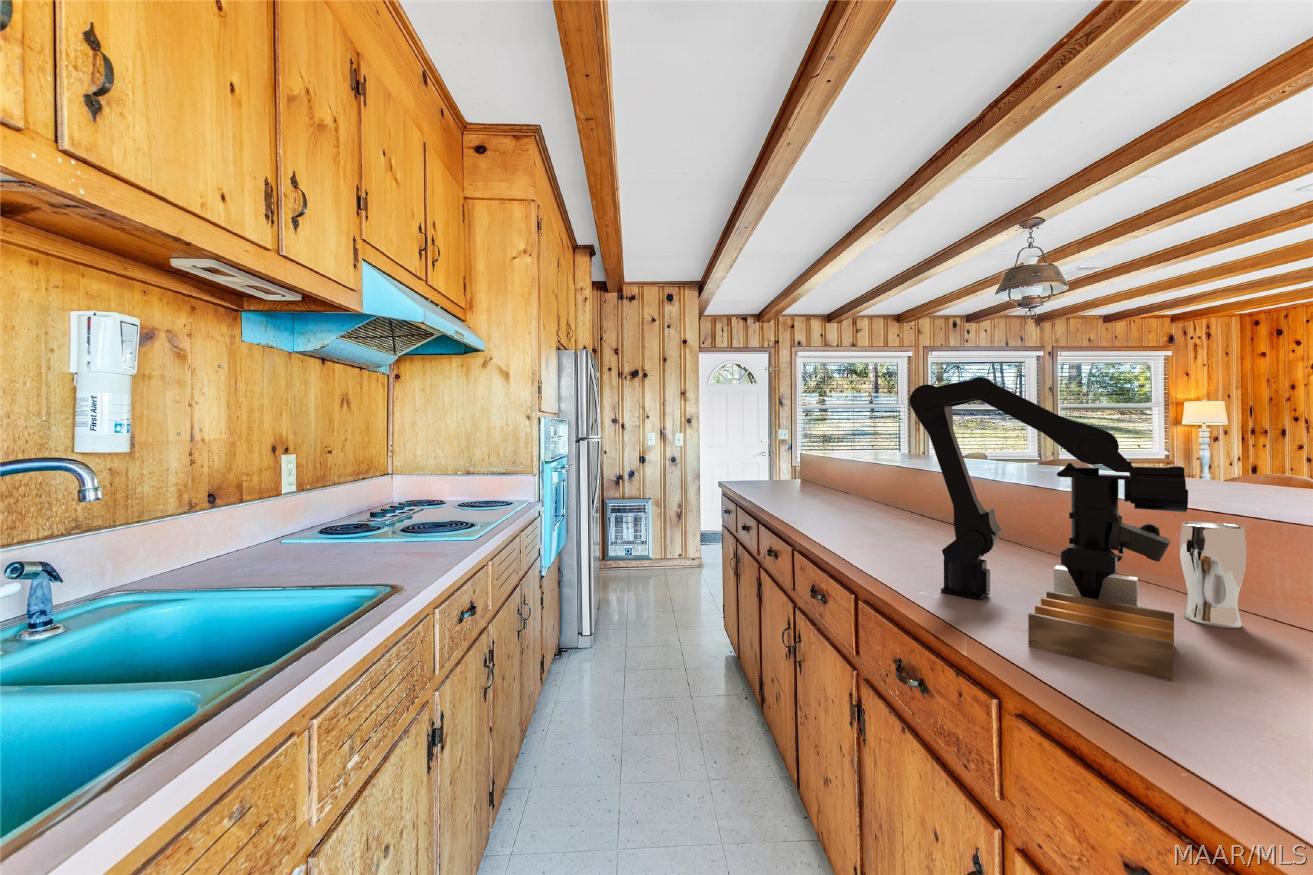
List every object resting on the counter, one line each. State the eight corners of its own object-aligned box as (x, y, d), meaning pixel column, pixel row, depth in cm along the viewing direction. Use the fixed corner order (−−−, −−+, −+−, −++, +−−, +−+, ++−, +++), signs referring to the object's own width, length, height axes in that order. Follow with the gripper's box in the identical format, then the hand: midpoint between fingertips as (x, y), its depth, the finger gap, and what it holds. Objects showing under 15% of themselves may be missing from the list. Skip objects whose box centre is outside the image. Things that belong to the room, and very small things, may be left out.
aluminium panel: (1053, 610, 84) (1053, 568, 84) (1056, 606, 86) (1056, 565, 86) (1136, 626, 77) (1136, 580, 77) (1137, 622, 78) (1137, 577, 78)
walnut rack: (1028, 646, 70) (1028, 613, 70) (1047, 618, 80) (1047, 590, 80) (1172, 681, 60) (1172, 643, 60) (1174, 645, 70) (1174, 612, 70)
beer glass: (1191, 624, 77) (1191, 526, 77) (1171, 610, 83) (1171, 519, 83) (1257, 632, 74) (1257, 530, 73) (1231, 617, 80) (1231, 522, 80)
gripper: (1164, 519, 69) (1164, 633, 69) (1166, 504, 82) (1166, 600, 82) (1060, 510, 77) (1060, 612, 77) (1077, 498, 90) (1077, 586, 90)
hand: (1094, 602), depth 81 cm, fingers open, 7 cm apart
